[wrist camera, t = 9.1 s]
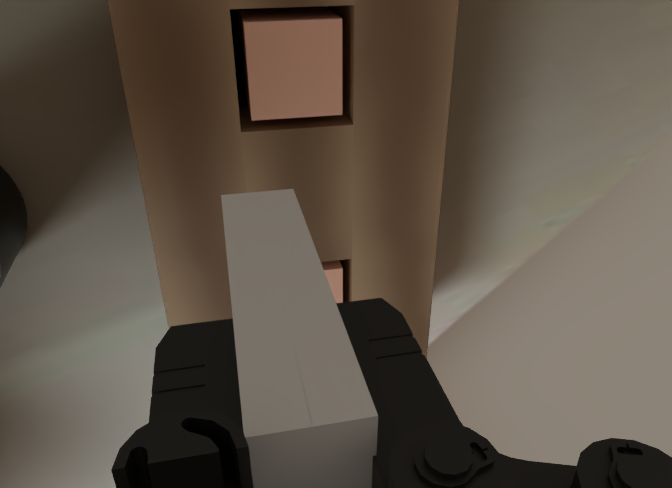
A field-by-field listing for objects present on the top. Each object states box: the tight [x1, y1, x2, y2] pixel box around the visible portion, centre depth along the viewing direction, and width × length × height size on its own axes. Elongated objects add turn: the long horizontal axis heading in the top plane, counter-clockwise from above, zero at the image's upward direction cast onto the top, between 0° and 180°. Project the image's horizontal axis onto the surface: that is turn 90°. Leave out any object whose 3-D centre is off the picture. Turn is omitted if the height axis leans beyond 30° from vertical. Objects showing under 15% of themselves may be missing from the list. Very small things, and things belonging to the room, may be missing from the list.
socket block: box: [107, 0, 459, 357], centre depth 30 cm, size 14×24×6 cm, turn 1°
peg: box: [238, 6, 342, 121], centre depth 27 cm, size 4×4×6 cm
